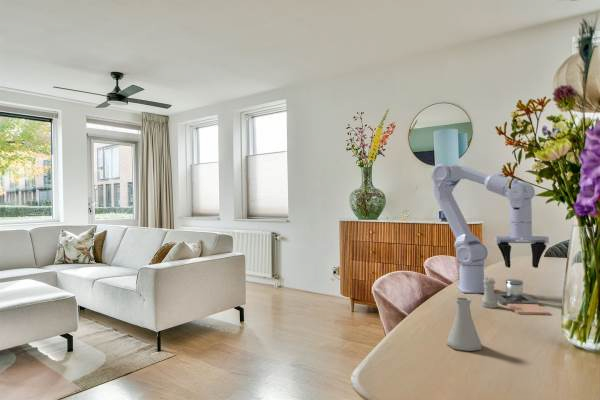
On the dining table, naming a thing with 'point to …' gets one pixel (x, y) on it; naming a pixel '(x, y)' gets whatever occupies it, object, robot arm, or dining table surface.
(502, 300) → the bore plate
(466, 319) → the flask
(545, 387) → the dining table surface
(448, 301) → the dining table surface
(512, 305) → the tile
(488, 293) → the rook chess piece
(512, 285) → the glass jar
